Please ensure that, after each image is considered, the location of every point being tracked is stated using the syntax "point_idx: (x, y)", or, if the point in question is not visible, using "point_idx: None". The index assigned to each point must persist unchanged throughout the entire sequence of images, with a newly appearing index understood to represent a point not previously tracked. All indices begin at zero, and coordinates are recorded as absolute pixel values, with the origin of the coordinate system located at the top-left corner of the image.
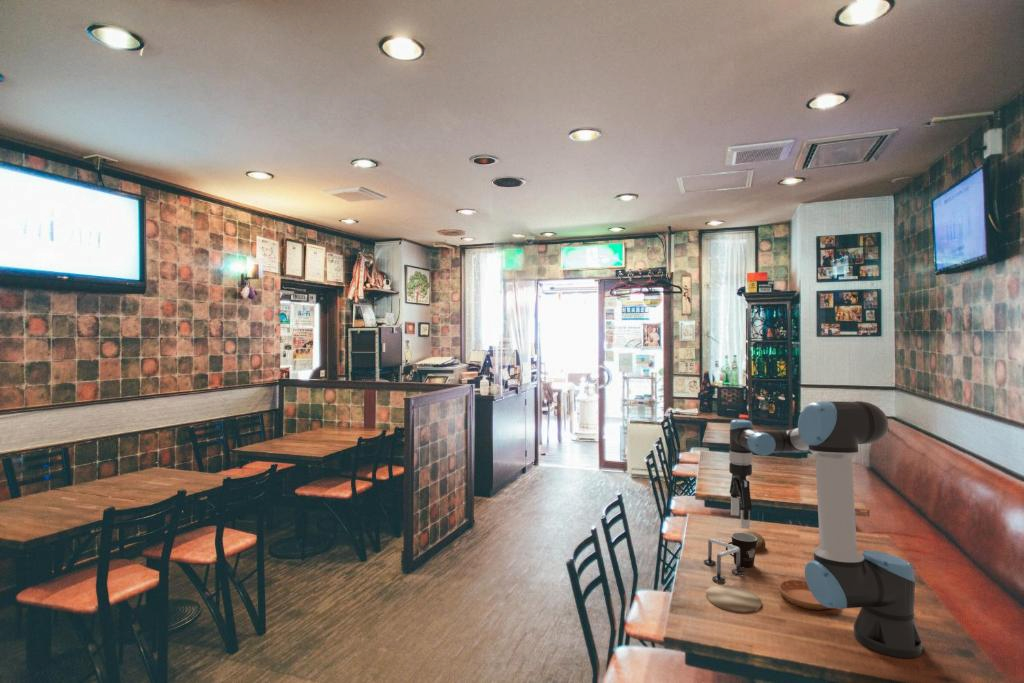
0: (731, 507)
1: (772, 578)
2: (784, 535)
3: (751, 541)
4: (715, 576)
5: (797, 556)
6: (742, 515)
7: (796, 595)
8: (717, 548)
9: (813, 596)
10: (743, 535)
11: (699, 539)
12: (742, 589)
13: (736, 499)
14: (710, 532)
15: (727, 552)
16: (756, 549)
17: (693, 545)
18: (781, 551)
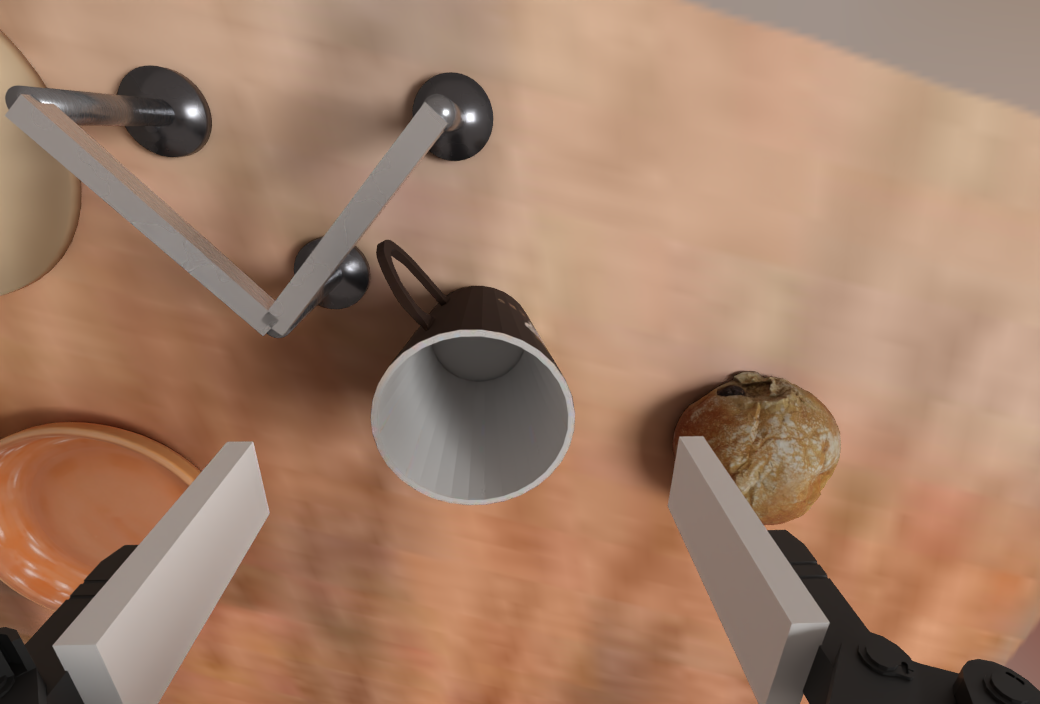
0: (717, 498)
1: (321, 432)
2: (882, 609)
3: (379, 452)
4: (192, 97)
5: (623, 595)
6: (129, 570)
7: (113, 481)
8: (721, 236)
9: (136, 542)
10: (559, 428)
11: (891, 142)
12: (43, 232)
13: (758, 659)
14: (1004, 254)
15: (112, 205)
16: (673, 452)
17: (780, 63)
18: (681, 551)
